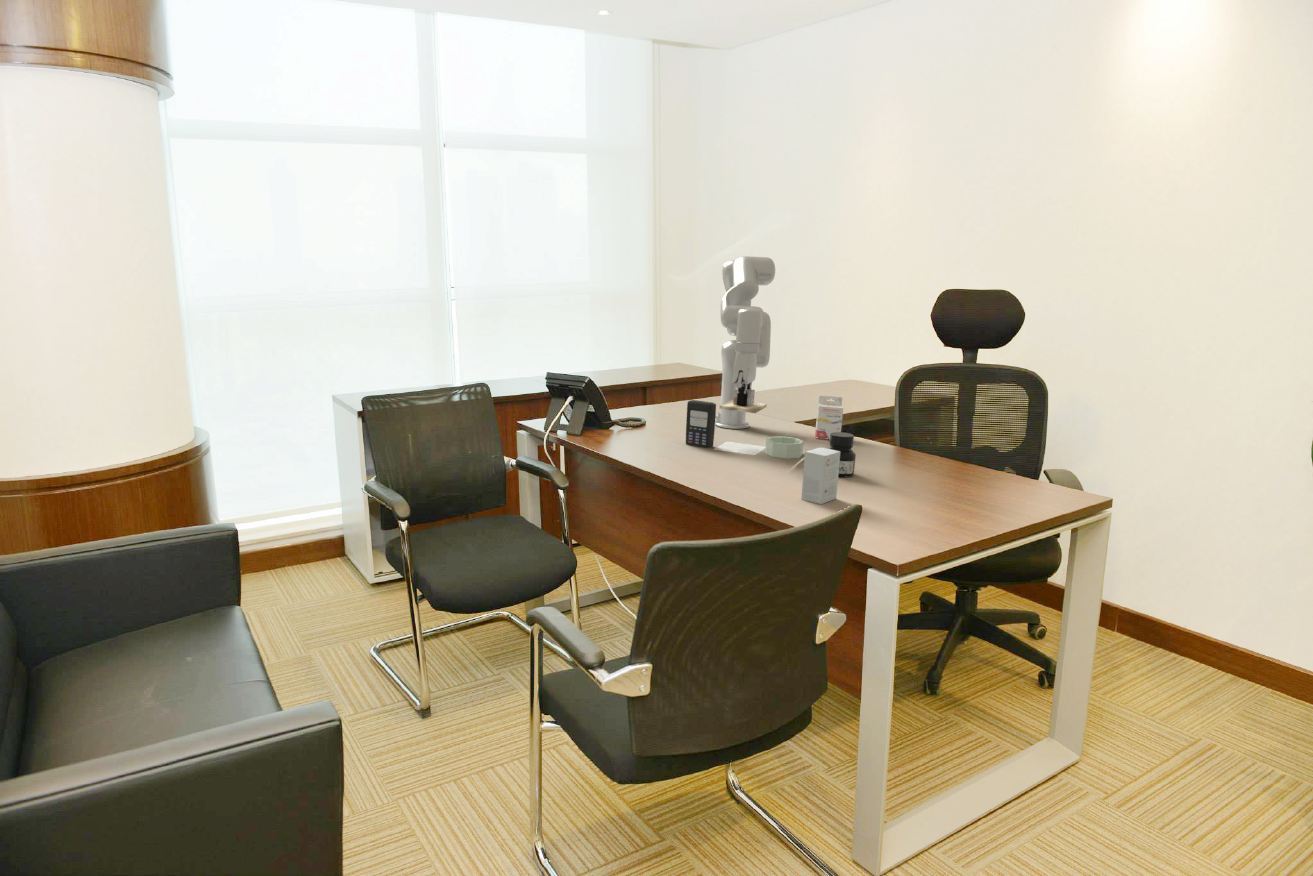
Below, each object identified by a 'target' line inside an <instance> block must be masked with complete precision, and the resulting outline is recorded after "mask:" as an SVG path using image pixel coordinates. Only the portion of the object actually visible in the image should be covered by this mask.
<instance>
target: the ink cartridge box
mask: <svg viewBox="0 0 1313 876" xmlns="http://www.w3.org/2000/svg"><path fill="white" fill-rule="evenodd" d="M818 398H819V399H818V404H817V411H816V423H815V431H814V432H815V434H814V435H815V438H816V437H818V438H830V434H831V433H833V432H842V424H843V415H844V406H843V405H842V404H843V402H842V401H843V397H841V396H832V395H819V397H818ZM831 400H833V401H831ZM818 438H817V439H818Z"/></svg>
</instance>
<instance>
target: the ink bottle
mask: <svg viewBox="0 0 1313 876" xmlns="http://www.w3.org/2000/svg"><path fill="white" fill-rule="evenodd" d="M854 438H855V435H854V434H852V433H850V432H842V431H841V432H833V433H831V434H830V439H829V448H828V449H832V450H836V451H840V462H839V474H838V478H850V477H853V476H854V475H855V468H856V467H855V466H856V455H857V454H856V452H855V451H854V450H853V448H854V440H855V439H854Z"/></svg>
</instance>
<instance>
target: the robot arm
mask: <svg viewBox="0 0 1313 876" xmlns="http://www.w3.org/2000/svg"><path fill="white" fill-rule="evenodd" d="M721 271H722V275H721V276H722V282H723V285H724V289H725V293H724V294H723V296H722V299H721V301H720V323H721V325H722V327H723V328H725V329H726V331H727V333H728V334H729V335H730V336H732V337H735V339H731V340H727V341H725V342H724V343H723V344H722V346H721V366H722V367H721V368H722V371H721V372H722V374H721V393H720V405H722V404H724V403H726V402H728V401H730V400H733V399H734V389H736V388H738V390H737V405H740V406H746V405H747V394H746V393H747V389H751V390H752V384H753V382H754V381H755V380H756V376H757V368H760V369H762V368H766V367H767V366H768V365H769V363H770V355H771V332H772V323H771V317H770V315H769V313H767V312H765V311H764V310H763V308H761V307H760V306H754V305H753V306H752V300H753V299H755V298H756V296H757V295H758V293H759V288H760V287H759V286H768V285H769V284H772V282H773V281H774V279H775V277H776V276H775V274H776V265H775V262H774V260H773V259H772V258H770V257H765V256H764V257H763V256H749V255H748V256H746V255H745V256H740V257H737V258H736V259H734V260H733V259H732V260H728V261H726V262H725V263H723V265H722V270H721ZM746 415H747V412H742V411H734V410H726V409H719V412H716V416H715V427H716V426H717V427H720V428H723V429H734V430H740V429H742V430H743V429H747V428H749V427H750V423H749V422H748V421H746Z"/></svg>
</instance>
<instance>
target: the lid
mask: <svg viewBox="0 0 1313 876" xmlns="http://www.w3.org/2000/svg"><path fill="white" fill-rule="evenodd" d="M737 390H738V388H736V389H734V399H733V400H730V401H728V402H726V403H724V404H722V405H721V404H720V405H719V410H720V409H726V410H734V411H742V412H746V413H751V414H756V413H758V412H760V411H762V410H764V409H767V405H768V404H767V403H761V402H755V395H756V394H755V392H756V390H755V389H752V388H751V389H747V393H746V394H747V405H746V406H740V405H737Z"/></svg>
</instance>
